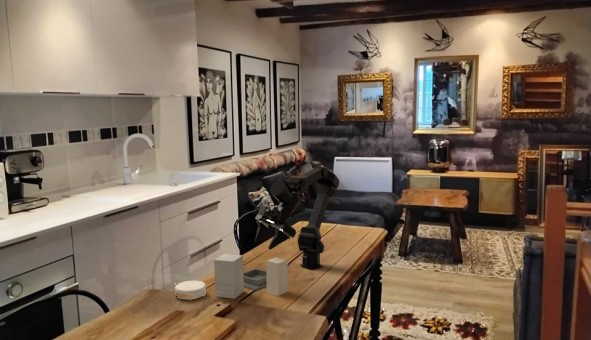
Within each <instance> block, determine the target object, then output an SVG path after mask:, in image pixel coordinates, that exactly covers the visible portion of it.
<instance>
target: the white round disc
mask: <svg viewBox="0 0 591 340" xmlns="http://www.w3.org/2000/svg"><path fill="white" fill-rule="evenodd" d="M174 291H175V292H177V293H180V294H185V295H190V296H204V297H205V296H206V295H207V283H205V282H203V281H202V280H201V281H200V280H186V281H181V282H178V283H177V284H176V285H175V286H174ZM175 292H174V293H175Z"/></svg>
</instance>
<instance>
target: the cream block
mask: <svg viewBox="0 0 591 340" xmlns="http://www.w3.org/2000/svg"><path fill="white" fill-rule="evenodd" d="M265 263H266V264H265V266H266V267H265V268H266V270H265V271H266V281H267V286H266V293H267V294H270V295H272V296H273V295H274V296H277V297H279V296H281V295H283V294H286V293H288V289H289V288H288V286H289V285H288V282H289V281H288V275H289V274H288V272H289V271H288V269H289V267H288V266H289V265H288V259H286V258H281V257H277V256H275V257H272V258H270V259H267V260H266V261H265Z"/></svg>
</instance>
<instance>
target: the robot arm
mask: <svg viewBox="0 0 591 340" xmlns="http://www.w3.org/2000/svg"><path fill="white" fill-rule="evenodd" d="M314 183H316V188H317V196H316V199H315V202H314V204H313V209H312V211H311V214H310V217H309V219H308V223H307V225H306V226H302V227H301V228H300V231H299V234H298V237H297V246H298V249H299V252H302V256H301V258H302V260H301V261H302V264H300V267H303V268H305V269H307V270H309V271H310V270H315V269H318V268H319V269H320V268H322V267H323V264H321V254H323V253H324V251H325V245H324V242H323V241H322V235H321V226H322V222H323V220H324V216H325V213H326V210H327V207H328V204H329V201H330V198H331V197H332V196H333V195H334V194H335V193H336V192H337V189H338V188H339V186H340V179H339V178H338V176H337V175H336V174H335V173H333V172H332V171H330V170H329V169H328V168H327V167H325V166H314V167H313V168H312V169H311V170H309V171H307V172H304V173H303V174H300V175H293V176H292V175H291V176H288V177H287V178H286V179H284V178H278V180H277V181H275V182H274V183H273V184H272V185H271V186H270V188H269V192H270V195H272V196H273V197H274V198H275V199H276V201H278V202H279V204H278V205H271V206H266V205H263V204H260V207H259V210H258V213H257V215H256V216H255V217H254V218H255V222H256V223H257V229H256V230H257V231H256V235H255V238H254V243H256V244H258V243H259V242H260V241H261V240H262V239H263V238H264V237H265V236H266V235H267V234H268V233H269V232H270V231H271V228H273V227H274V228H275V229H274V230H275V232H274V236H273V237H272V239H271V241H270V243H269V245H268V247H267V249H269V250H270V251H271V250H272V249H274V248H275V247H277V246H279V245H281V244H282V243H284V242H286V241H287V240H291V238H292V239H294V238H295V237H296V235H297V229H295V228H294V227H293V226H291V225H290V224H289V223H287V222H288V221H289V219H293V217H294V215H293V213H294V211H295V210H296V209H297V207H298V205H303V197H302V196H300V195H297V194H304V193H305V192H306V191H308V190H309V186H311V185H312V184H314Z"/></svg>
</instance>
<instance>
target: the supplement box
mask: <svg viewBox="0 0 591 340" xmlns="http://www.w3.org/2000/svg"><path fill="white" fill-rule="evenodd" d="M213 263H214V292H215V295H214V296H215V297H218V298H224V299H234V300H235V299H237V298H238V297H239V296H240V295H242V293H244V292H245V287H244V278H243V273H244V255H241V254H230V253H223V254H222V255H220V256H218V257H216V258H215V259H214V260H213Z"/></svg>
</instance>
